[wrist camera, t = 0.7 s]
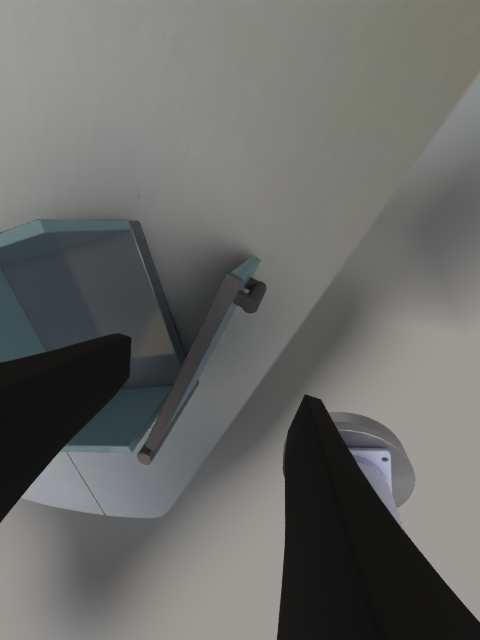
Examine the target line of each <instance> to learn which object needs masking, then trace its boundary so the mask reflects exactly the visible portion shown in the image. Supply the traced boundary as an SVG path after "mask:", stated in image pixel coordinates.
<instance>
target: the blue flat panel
mask: <svg viewBox="0 0 480 640" xmlns="http://www.w3.org/2000/svg"><path fill="white" fill-rule="evenodd" d="M260 261H261V260H260V259H259V258H257V257H255V256H252V257H250V258H249V259H248V260H246V261H245V262H244V263H242V264H241V265H239V266H238V267H237V268H235V269H234V270H233V271H231V272H228V273H227V274H226V275H225V277H224V279H223V281H222V283H221V285H220V287H219V290H218V292H217V294H216V296H215V298H214V300H213V302H212V304H211V307H210V309H209V311H208V313H207V315H206V317H205V319H204V321H203V323H202V326H201V328H200V330H199V332H198V334H197V336H196V338H195V340H194V342H193V345H192V347H191V349H190V351H189V353H188V355H187V357H186V359H185V361H184V364H183V366H182V368H181V370H180V372H179V374H178V376H177V378H176V381H175V383H174V385H173V387H172V389H171V391H170V393H169V395H168V397H167V400H166V402H165V404H164V406H163V408H162V410H161V412H160V414H159V416H158V419H157V421H156V423H155V425H154V427H153V429H152V431H151V433H150V435H149V438H148V440H147V442H146V444H145V446H146V447H147V448H149V449H151V450H153V451H155V450H156V448H157V447H158V445H159V443H160V441H161V439H162V437H163V436H164V434H165V432H166V431H167V429H168V428H169V426H170V424H171V423H172V421H173V420H174V418H175V416H176V415H177V413H178V412H179V410H180V408H181V407H182V405H183V404H184V402H185V400H186V399H187V397H188V396H189V394H190V392H191V391H192V389H193V388H194V386H195V384H196V382H197V380H198V378H199V376H200V374H201V372H202V371H203V369H204V367H205V365H206V363H207V361H208V359H209V357H210V355H211V354H212V352H213V350H214V348H215V346H216V344H217V342H218V340H219V338H220V337H221V335H222V333H223V331H224V329H225V327H226V325H227V323H228V321H229V319H230V318H231V316H232V314H233V312H234V310H235V308H236V306H237V305H238V306H240V307H242V308H243V310H244V311H245V312H247V313H254V312H256V311H257V309H258V307H259V305H260V302H261V300H262V298H263V296H264V294H265V291H266V285H265V283H263V282H261V281H259V282H258V281H256V280H255V279H253V278H252V276H253V274H254V272H255V270H256V268H257V266H258V265H259V263H260ZM245 289H248V290H250V291H249V293H248V294H247V293H245V292H244V291H245Z"/></svg>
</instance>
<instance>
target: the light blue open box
mask: <svg viewBox="0 0 480 640" xmlns="http://www.w3.org/2000/svg"><path fill="white" fill-rule="evenodd" d="M115 333H120V334H123V335H126V336H129V337H132V339H131V360H130V377H129V378H128V380H127V381H126V382H125V384H124V385H123V386H122V388H121V389H120V390H119V391H118V393H117V394H116V395H115V396H114V397H113V398H112V399H111V401H110V402H109V403H108V404H107V405H106V406H105V407H104V408H103V409H102V410H101V411H100V412H99V413H98V414H97V415H96V416H95V417H94V418H93V419H92V420H91V421H90V422H89V423H88V424H86V425H85V426H84V427H83V428H82V429H81V430H80V431H79V432H78V433H77V434H76V435H75V436H74V437H73V438H72V439H71V440H70V441H69V442H68V443H67V444H66V445H65V446H64V447H63V449H62V450H61V451H60V452H111V453H132V451H133V450H134V449H135V447H136V446H137V444H138V443H139V442H140V440H141V439H142V438H143V436H144V435H145V433H146V432H147V431H148V429H149V428H150V426H151V425H152V424H153V422H154V421H155V419H156V418H157V417H158V415H159V414H160V412H161V410H162V408H163V406H164V404H165V402H166V400H167V397H168V395H169V393H170V391H171V389H172V387H173V385H174V383H175V381H176V378H177V376H178V374H179V372H180V370H181V368H182V366H183V364H184V361H185V359H186V358H185V355H184V352H183V349H182V346H181V343H180V341H179V338H178V335H177V332H176V329H175V326H174V323H173V320H172V317H171V314H170V311H169V308H168V305H167V302H166V300H165V297H164V294H163V291H162V288H161V285H160V282H159V279H158V276H157V273H156V270H155V267H154V264H153V261H152V258H151V256H150V253H149V250H148V247H147V244H146V241H145V238H144V235H143V232H142V229H141V226H140V223H139V221H115V220H56V219H38V220H35V221H32V222H29V223H26V224H23V225H21V226H18V227H15V228H12V229H9V230H6V231H4V232H1V233H0V362H5V361H10V360H14V359H19V358H23V357H27V356H31V355H35V354H39V353H43V352H47V351H51V350H55V349H59V348H63V347H66V346H70V345H73V344H77V343H81V342H84V341H88V340H91V339H95V338H98V337H102V336H106V335H110V334H115ZM198 385H199V381H198V380H197V382H196V384H195V386H194V388H193V389H192V391H191V392H190V394H189V396H188V397H187V399H186V400H185V402H184V404H183V405H182V407H181V408H180V410H179V412H178V413H177V415H176V416H175V418H174V420H173V421H172V423H171V424H170V426H169V428H168V429H167V431H166V432H165V434H164V436H163V437H162V439H161V441H160V443H159V445H158V447H157V448H156V450H155V451H153V450H151V449H149V448H147V447H146V446H145V444H146V442H147V441H146V442H145V444H144V445H143V447H142V448H141V450H140V451H139V453H138V454H137V459H138V460H139V461H140V462H141V463H142V464H145V465H148V464H150V463H151V462H152V461H153V459H154V457H155V456H156V454H157V452H158V451H159V449H160V447H161V446H162V444H163V442H164V441H165V439H166V438H167V436H168V434H169V433H170V431H171V429H172V428H173V426H174V424H175V423H176V421H177V419H178V418H179V416H180V414H181V413H182V411H183V409H184V408H185V406H186V405H187V403H188V401H189V400H190V398H191V396H192V395H193V393H194V391H195V390H196V388H197V386H198Z"/></svg>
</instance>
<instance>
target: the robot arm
mask: <svg viewBox="0 0 480 640" xmlns="http://www.w3.org/2000/svg"><path fill="white" fill-rule="evenodd" d="M131 339H132V337H129V336H126V335H123V334H120V333H115V334H110V335H106V336H102V337H98V338H95V339H91V340H88V341H84V342H81V343H77V344H73V345H70V346H66V347H63V348H59V349H55V350H51V351H47V352H43V353H39V354H35V355H31V356H27V357H23V358H19V359H14V360H10V361H5V362H0V523H1V521H2V520H3V519H4V517H5V516H6V515H7V514H8V512H9V511H10V510H11V509H12V508H13V506H14V505H15V504H16V503H17V501H18V500H19V499H20V498H21V496H22V495H23V494H24V493H25V492H26V490H27V489H28V488H29V487H30V485H31V484H32V483H33V482H34V481H35V479H36V478H37V477H38V476H39V475H40V474H41V472H42V471H43V470H44V469H45V468H46V467H47V465H48V464H49V463H50V462H51V461H52V459H53V458H54V457H55V456H56V455H57V454H58V453H59V452H60V451H61V450H62V449H63V447H64V446H65V445H66V444H67V443H68V442H69V441H70V440H71V439H72V438H73V437H74V436H75V435H76V434H77V433H78V432H79V431H80V430H81V429H82V428H83V427H84V426H85V425H86V424H88V423H89V422H90V421H91V420H92V419H93V418H94V417H95V416H96V415H97V414H98V413H99V412H100V411H101V410H102V409H103V408H104V407H105V406H106V405H107V404H108V403H109V402H110V401H111V399H112V398H113V397H114V396H115V395H116V394H117V393H118V391H119V390H120V389H121V388H122V386H123V385H124V384H125V382H126V381H127V380H128V378H129V377H130V360H131ZM383 457H385V458H383ZM277 640H480V622H479V621H478V620H477V619H476V618H475V617H474V616H473V614H472V613H471V612H470V611H469V610H468V609H467V607H466V606H465V605H464V604H463V603H462V602H461V600H460V599H459V598H458V597H457V596H456V595H455V593H454V592H453V591H452V590H451V589H450V587H449V586H448V585H447V584H446V583H445V582H444V580H443V579H442V578H441V577H440V575H439V574H438V573H437V572H436V570H435V569H434V568H433V567H432V566H431V564H430V563H429V562H428V561H427V559H426V558H425V557H424V556H423V554H422V553H421V552H420V551H419V550H418V548H417V547H416V546H415V544H414V543H413V542H412V541H411V539H410V538H409V537H408V535H407V534H406V533H405V530H404V528H403V525H402V522H401V519H400V516H399V513H398V511H397V508H396V505H395V502H394V499H393V496H392V478H391V455H390V452H389V450H388V449H386V448H354V447H347V446H346V444H345V442H344V441H343V439H342V437H341V435H340V433H339V432H338V430H337V428H336V426H335V424H334V423H333V421H332V419H331V417H330V415H329V413H328V412H327V410H326V408H325V406H324V404H323V402H322V401H321V399H317V398H315V397H312V396H309V395H305V396H304V398H303V400H302V402H301V404H300V406H299V409H298V411H297V413H296V415H295V417H294V419H293V421H292V424H291V426H290V428H289V430H288V435H287V443H286V453H285V550H284V563H283V577H282V590H281V601H280V612H279V624H278V634H277Z"/></svg>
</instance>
